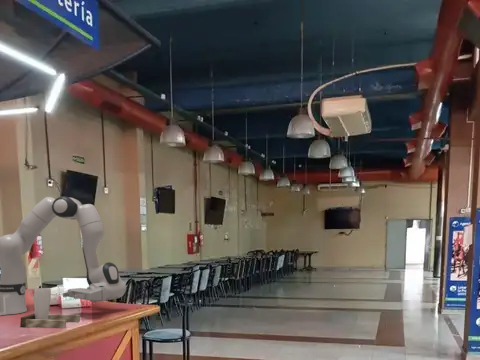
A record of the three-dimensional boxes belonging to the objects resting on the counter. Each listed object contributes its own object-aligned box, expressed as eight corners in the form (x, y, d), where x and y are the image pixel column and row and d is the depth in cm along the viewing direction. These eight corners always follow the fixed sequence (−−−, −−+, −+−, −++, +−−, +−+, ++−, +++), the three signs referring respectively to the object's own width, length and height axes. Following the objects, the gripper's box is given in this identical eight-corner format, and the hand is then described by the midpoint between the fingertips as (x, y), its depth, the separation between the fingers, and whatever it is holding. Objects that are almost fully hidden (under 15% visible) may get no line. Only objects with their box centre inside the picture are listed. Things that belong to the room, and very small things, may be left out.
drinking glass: (43, 325, 194) (44, 290, 195) (29, 325, 195) (30, 289, 196) (53, 322, 200) (54, 287, 202) (39, 321, 201) (40, 287, 203)
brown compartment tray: (20, 327, 192) (20, 317, 192) (38, 320, 204) (38, 311, 205) (63, 328, 188) (64, 318, 189) (79, 321, 201) (80, 312, 202)
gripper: (83, 284, 225) (57, 287, 214) (107, 287, 212) (81, 290, 201) (83, 297, 224) (56, 300, 214) (107, 301, 211) (80, 305, 201)
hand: (68, 296), depth 207 cm, fingers open, 8 cm apart
